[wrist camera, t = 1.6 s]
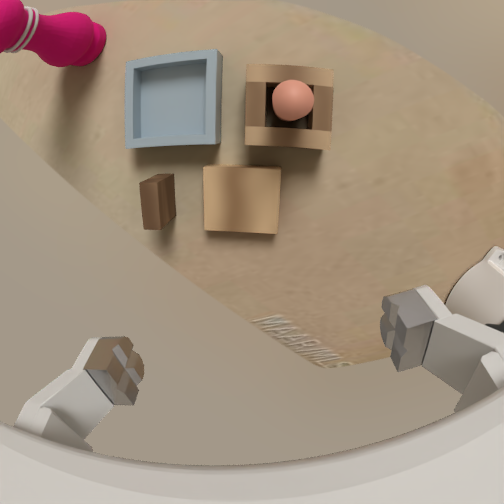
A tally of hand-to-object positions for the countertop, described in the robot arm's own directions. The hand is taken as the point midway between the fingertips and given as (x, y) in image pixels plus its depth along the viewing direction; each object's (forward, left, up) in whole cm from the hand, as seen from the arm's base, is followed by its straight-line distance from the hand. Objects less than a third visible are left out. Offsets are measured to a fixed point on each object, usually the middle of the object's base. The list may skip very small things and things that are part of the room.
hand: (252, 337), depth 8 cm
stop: (+12, +2, -25) cm, 28 cm away
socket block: (-1, -8, -25) cm, 26 cm away
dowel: (-1, -8, -25) cm, 26 cm away
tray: (+11, -9, -25) cm, 28 cm away
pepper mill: (+24, -19, -25) cm, 39 cm away
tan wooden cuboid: (+3, +2, -25) cm, 25 cm away
